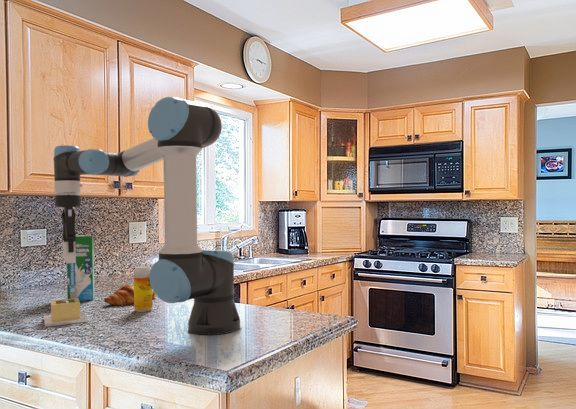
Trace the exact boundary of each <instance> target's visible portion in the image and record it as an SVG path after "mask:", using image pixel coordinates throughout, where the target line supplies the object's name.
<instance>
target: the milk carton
mask: <svg viewBox="0 0 576 409" xmlns="http://www.w3.org/2000/svg"><path fill="white" fill-rule="evenodd" d="M93 237H94V236H92V235H87V236H86V235H80V234H79V235H76V240H75V247H76V263H67V264H66V277H67V278H66V282H67V284H66V287H67V289H66V291H67V294H66V295H67V299H73V298H78V299H79V301H80V302H85V301H87V300H89V301H94V299H95V293H96V292H95V288H96V287H95V241H94V240H95V239H94V238H93ZM87 302H88V301H87Z"/></svg>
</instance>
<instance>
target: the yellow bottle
mask: <svg viewBox="0 0 576 409" xmlns="http://www.w3.org/2000/svg"><path fill="white" fill-rule="evenodd" d="M151 268H152V266H149V265H143V266H142V265H140V266H135V267H134V269H133V286H134V304H133V305H134V307H133V308H134V310H135V312H137V313H138V312H139V313H145V312H146V313H147V312H150V311H151V310H152V309H153V308H154V307H153V298H152V291H153V289H152V287H151V284H150V270H151Z"/></svg>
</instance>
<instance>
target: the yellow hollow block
mask: <svg viewBox="0 0 576 409" xmlns="http://www.w3.org/2000/svg"><path fill="white" fill-rule="evenodd" d="M62 301H69V303H61V302H62ZM80 312H81V301H79V299H78V298H73V299H68V298H65V299H54V300H50V315H51V318H52V321H59V320H68V319H77V318H80Z"/></svg>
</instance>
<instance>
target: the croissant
mask: <svg viewBox="0 0 576 409" xmlns="http://www.w3.org/2000/svg"><path fill="white" fill-rule="evenodd" d="M156 297H158V296H157V294H155V293H154V291H153V290H152V299H154V298H156ZM103 301H104V303H105V304H109V305H115V306H123V305H126V306H127V305H134V285H131V284H129V285H128V284H126V285H123V286H121V287H120V288H119V289H118V290H116V291H114V293H113V294H110V295H108V296H107V297H105V298H104V300H103Z"/></svg>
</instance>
